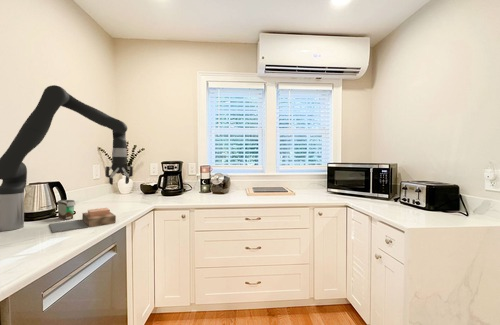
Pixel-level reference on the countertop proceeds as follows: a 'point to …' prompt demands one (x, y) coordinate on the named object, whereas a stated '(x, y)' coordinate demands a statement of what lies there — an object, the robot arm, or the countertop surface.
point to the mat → (67, 226)
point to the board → (98, 219)
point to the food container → (66, 209)
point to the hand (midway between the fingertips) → (119, 184)
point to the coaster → (98, 212)
